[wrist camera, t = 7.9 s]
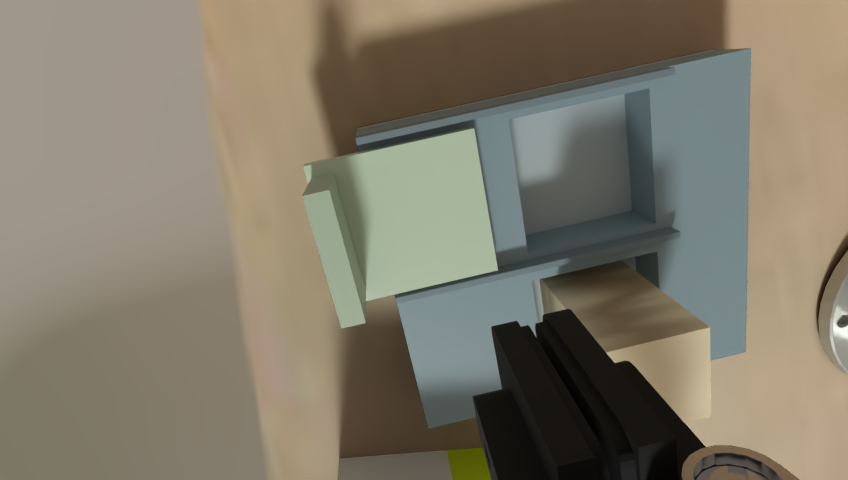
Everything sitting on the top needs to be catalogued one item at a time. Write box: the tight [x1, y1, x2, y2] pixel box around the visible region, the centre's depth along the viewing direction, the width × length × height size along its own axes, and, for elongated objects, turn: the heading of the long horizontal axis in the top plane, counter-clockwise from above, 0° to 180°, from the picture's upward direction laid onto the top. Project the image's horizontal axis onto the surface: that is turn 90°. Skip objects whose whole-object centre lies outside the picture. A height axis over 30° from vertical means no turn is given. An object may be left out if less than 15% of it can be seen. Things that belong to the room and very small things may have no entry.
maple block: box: [539, 260, 711, 424], centre depth 25 cm, size 4×4×8 cm
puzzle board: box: [355, 48, 751, 429], centre depth 26 cm, size 18×16×4 cm
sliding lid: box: [302, 127, 498, 329], centre depth 21 cm, size 7×7×4 cm
